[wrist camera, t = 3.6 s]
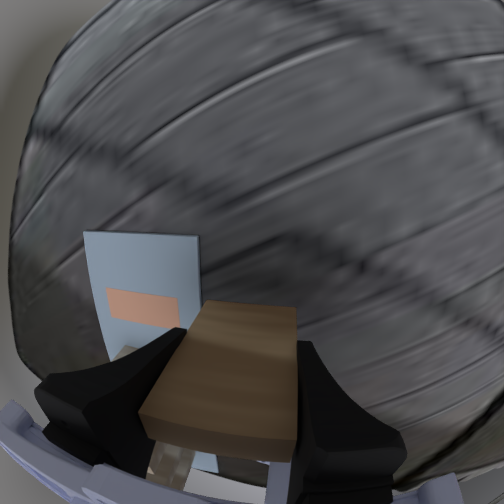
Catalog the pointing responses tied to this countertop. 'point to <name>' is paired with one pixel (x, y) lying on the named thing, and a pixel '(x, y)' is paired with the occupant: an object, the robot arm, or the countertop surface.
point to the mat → (145, 291)
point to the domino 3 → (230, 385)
